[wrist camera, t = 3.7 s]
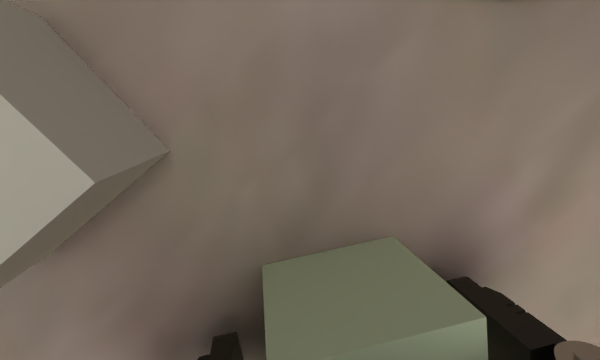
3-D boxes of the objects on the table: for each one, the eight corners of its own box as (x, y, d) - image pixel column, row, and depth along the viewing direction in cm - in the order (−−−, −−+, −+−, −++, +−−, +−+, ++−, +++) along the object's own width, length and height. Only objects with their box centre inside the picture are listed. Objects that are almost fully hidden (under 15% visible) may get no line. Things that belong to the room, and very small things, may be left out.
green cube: (261, 264, 11) (267, 373, 7) (392, 235, 12) (486, 317, 7) (286, 377, 13) (306, 542, 8) (404, 346, 13) (493, 483, 8)
